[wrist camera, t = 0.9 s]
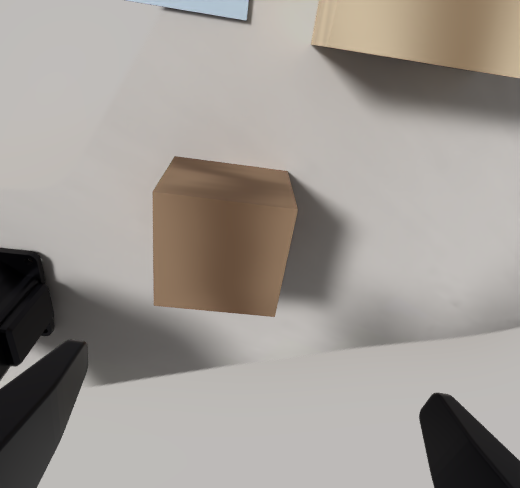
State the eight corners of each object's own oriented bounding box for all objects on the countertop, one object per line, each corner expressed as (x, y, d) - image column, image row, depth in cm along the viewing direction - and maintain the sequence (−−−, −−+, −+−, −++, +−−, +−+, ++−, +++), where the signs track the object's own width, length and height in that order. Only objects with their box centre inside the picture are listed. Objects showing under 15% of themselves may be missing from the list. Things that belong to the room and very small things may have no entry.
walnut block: (173, 251, 22) (153, 305, 17) (175, 155, 19) (152, 191, 14) (269, 262, 22) (274, 316, 18) (287, 170, 19) (298, 209, 15)
